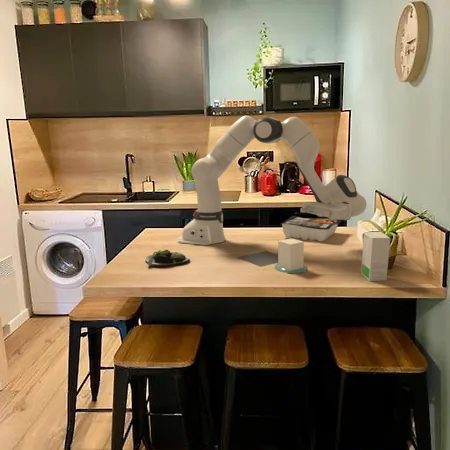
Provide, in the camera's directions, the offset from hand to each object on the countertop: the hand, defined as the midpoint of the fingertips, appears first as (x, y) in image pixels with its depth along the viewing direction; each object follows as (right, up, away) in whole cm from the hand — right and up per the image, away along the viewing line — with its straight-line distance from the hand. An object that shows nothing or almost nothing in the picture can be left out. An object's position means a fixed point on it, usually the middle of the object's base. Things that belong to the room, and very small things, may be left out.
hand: (309, 212), depth 184 cm
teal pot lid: (-9, -21, -7) cm, 24 cm away
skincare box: (+19, -24, -19) cm, 36 cm away
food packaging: (+8, -10, +44) cm, 46 cm away
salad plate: (-57, -20, +6) cm, 60 cm away
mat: (-17, -19, +6) cm, 26 cm away
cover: (-9, -21, -7) cm, 24 cm away
